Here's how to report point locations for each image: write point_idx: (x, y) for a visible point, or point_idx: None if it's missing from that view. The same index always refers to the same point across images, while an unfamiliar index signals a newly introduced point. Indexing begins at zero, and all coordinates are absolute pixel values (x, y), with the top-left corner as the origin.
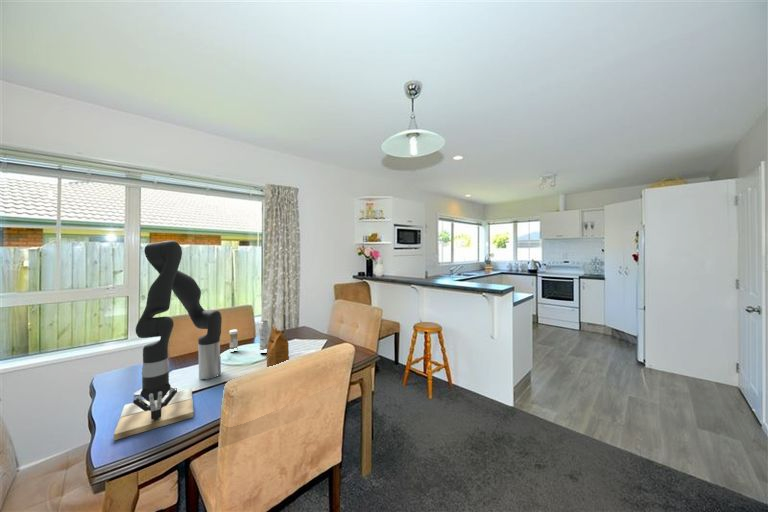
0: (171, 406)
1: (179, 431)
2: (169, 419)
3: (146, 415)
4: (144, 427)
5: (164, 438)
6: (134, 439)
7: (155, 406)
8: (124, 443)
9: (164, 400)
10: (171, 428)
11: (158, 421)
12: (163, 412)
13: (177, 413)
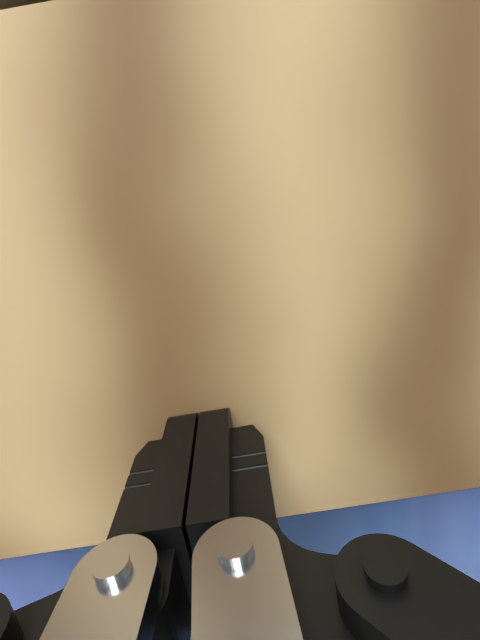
0: (356, 85)
1: None
2: (365, 497)
3: (12, 253)
4: None
5: None
6: (83, 556)
7: (169, 617)
8: (21, 579)
9: (383, 636)
10: (368, 518)
11: None
12: (259, 277)
13: (457, 413)
